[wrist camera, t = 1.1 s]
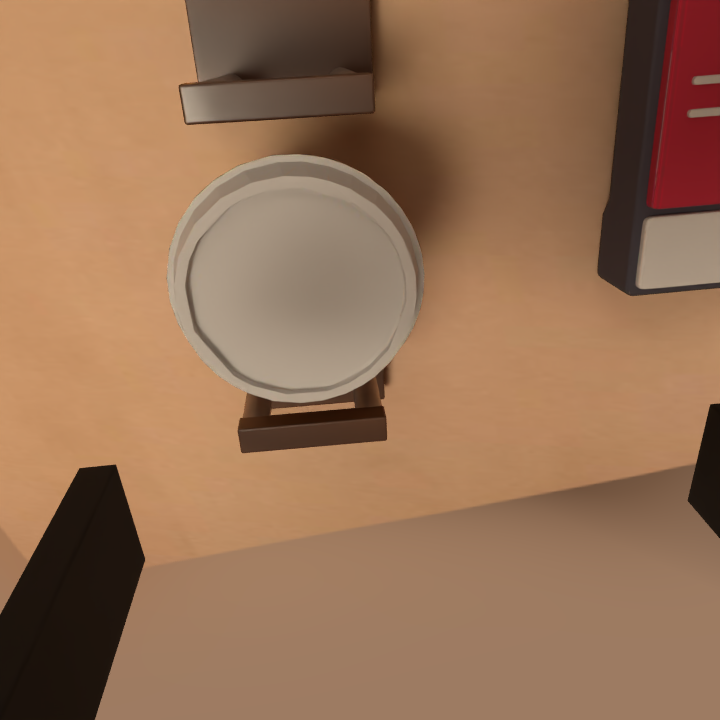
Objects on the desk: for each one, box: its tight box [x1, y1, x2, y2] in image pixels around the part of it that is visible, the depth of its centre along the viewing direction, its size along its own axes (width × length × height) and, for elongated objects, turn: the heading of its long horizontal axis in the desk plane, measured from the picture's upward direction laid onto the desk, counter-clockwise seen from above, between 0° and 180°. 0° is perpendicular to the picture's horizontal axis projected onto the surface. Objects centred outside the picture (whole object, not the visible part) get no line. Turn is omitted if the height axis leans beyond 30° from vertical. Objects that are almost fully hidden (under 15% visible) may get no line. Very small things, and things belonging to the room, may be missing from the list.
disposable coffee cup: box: [167, 154, 424, 403], centre depth 27 cm, size 10×10×12 cm
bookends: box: [179, 0, 387, 453], centre depth 27 cm, size 22×8×11 cm, turn 3°
